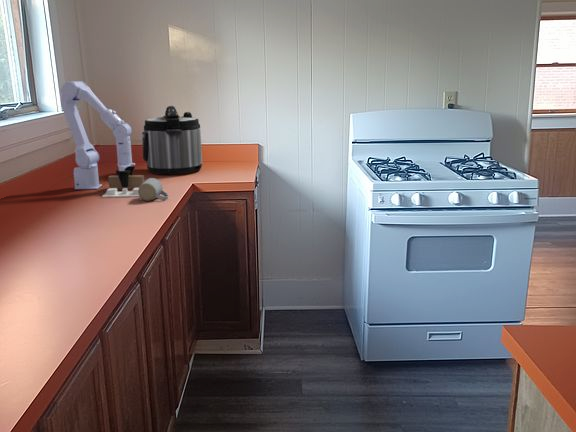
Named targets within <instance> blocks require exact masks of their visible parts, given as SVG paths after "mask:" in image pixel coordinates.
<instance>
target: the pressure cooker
mask: <svg viewBox="0 0 576 432" xmlns="http://www.w3.org/2000/svg"><path fill="white" fill-rule="evenodd" d="M199 121H200V120H199V118H195V117H193V115H192V113H191V112H190V111H185V112H184V113H183V115H182V116H180V115H179V114H178V112H177V109H176V107H175V106H173V105H169V106H167V107H166V109H165V112H164V115H163V116H159V117H153V118H147V119H145V120H144V125H143V131H142V132H141V135H142V137H141V138H142V143H141V144H142V159H143V161H144V162H146V168H147V170H148V172H150V173H152V174H158V175H166V176H167V175H175V174H188V173H189V174H190V173H194V172H197V171H201V169H202V166H203V151H202V138H201V137H202V136H201V135H202V134H201V133H202V131H201V124H200V123H199Z"/></svg>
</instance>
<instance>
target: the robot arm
mask: <svg viewBox="0 0 576 432" xmlns="http://www.w3.org/2000/svg"><path fill="white" fill-rule="evenodd" d="M60 92H61V99H60V105H61V109H62V111H63V114H64V117H65V119H66V122H67V125H68V128H69V130H70V133H71V135H72V138H73V141H74V143H75V148H74V154H75V163H76V165H77V167H74V168H73V180H74V190H98V189H99V188H101V187H102V186H103V184H101V183H100V180H99V179H100V177H99V171H98V170H99V167H98V163H99V161H100V153H99V152H98V151H97V150H96V149H95V146H94V145H93V144H92V143H91V142H90V140H89V137H88V135H87V133H86V129H85V127H84V125H83V121H82V119H81V116H80V113H79V110H78V107H77V105H78V103H79V102H80V100H82V101H85V102H87V103H88V104H89V105H90V106H91V107H92V108H93V109H94V110H95V111H97V113H99V114H100V119H101V120H102V121H103V122H104V124H105V125H107V127H109V129H110V130H111V131H112V135H113V136H114V137H115V142H116V143H115V144H116V156H117V166H118V169H116V170H115V173H116V174H117V175H116V176H118V177H119V179H120V182H121V185H122V187H128V178H129V175H134V171H135V169H136V163H135V162H133V158H132V157H133V154H132V143H131V142H132V141H131V135H132V133H133V130H132V127H131V124H129V123H127V122H125V121H124V119H121V118H120V116H119V115H118V114H117V111H116V110H112V109H111V108H110V109H109V108H107V107H106V105H104V104H103V103H102V101H101V100H100V98H98V96H96V94H95V93H94V92H93V91H92V89H91V87H90V86H88V85H87V84H86V83H85V82H84V81H82V80H78V81H77V80H75V81H70V80H69V81H65V82H64V83H63V85H62V86H61V88H60Z"/></svg>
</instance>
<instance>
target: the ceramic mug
mask: <svg viewBox="0 0 576 432" xmlns="http://www.w3.org/2000/svg"><path fill="white" fill-rule="evenodd" d="M138 193H139V196H140V197H139V198H141V199H142V200H143V201H146V202H150V201H153V200H155V199H158V200H160V201H166V200H168V197H169V194H168V193H167V192H166V191H165V190H164V189H163V184H162V183H161V182H160V181H159V179H157V178H154V177H149V178H147V179H146V180H144V183H142V184H141V185H140V187H139V190H138Z"/></svg>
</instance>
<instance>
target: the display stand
mask: <svg viewBox="0 0 576 432" xmlns="http://www.w3.org/2000/svg"><path fill="white" fill-rule="evenodd" d="M138 190H139V188H134V189H132V191H129V189H127V188H123V189H121V191H118V189H117V188H109V187H108V188H107V189H106V192H105V193H104V194H103V195H102V196H101V198H102V199H103V198H141V197H140V196H139V193H138Z"/></svg>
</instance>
